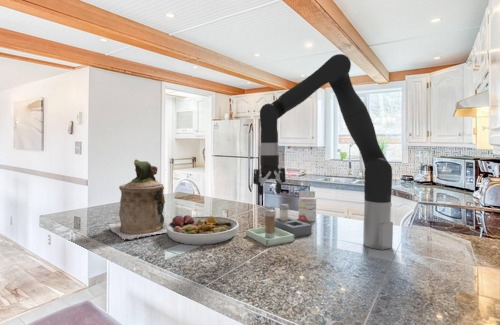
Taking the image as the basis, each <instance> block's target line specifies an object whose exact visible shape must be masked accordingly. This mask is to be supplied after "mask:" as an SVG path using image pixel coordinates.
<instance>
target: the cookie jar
mask: <svg viewBox="0 0 500 325" xmlns="http://www.w3.org/2000/svg"><path fill="white" fill-rule="evenodd" d="M133 164H134V166H135V168H134V171H135V174H136V177H134V178H132V180H131V181H129V182H127V183H125V184H121V185H119V187H118V188H119V190H120V194H121V196H120V200H119V202H120V203H119V205H120V206H119V210H118V211H119V212H118V216H119V222H118V223H110V224H107V227H108V230H109V229H110V231H111V232H112V233H114V234H115V235H117V236H118V235H119V236H118V237H120V238H121V239H122V240H123V239H124V240H125V241H126V240H135V239H134V238H137V239H139V237H140V238H146V237H145V236H149V237H152V236H151V235H154V236H157V235H156V234H160V235H163V234H162V233H165V232H157V231H159V230H163V231H166V232H167V225H168V224H169V223H170V222H168V221H165V217H164V214H163V213H164V208H165V203H166V201H165V196H164V195H165V194H164V189H165V187H164V184H163V183H160V181H158V180H157V179H156V177H155V175H157V174H158V167H157V166H155V165H152V164H151V163H150V162H148V161H140V160H138V159H135V160H134V162H133ZM165 234H166V233H165ZM124 240H123V241H124Z"/></svg>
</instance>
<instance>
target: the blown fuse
mask: <svg viewBox="0 0 500 325" xmlns="http://www.w3.org/2000/svg"><path fill="white" fill-rule="evenodd" d="M275 213H276V212H275V209H265V210H264V227H265V238H275V218H276V217H275V215H276V214H275Z"/></svg>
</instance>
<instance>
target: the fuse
mask: <svg viewBox="0 0 500 325" xmlns="http://www.w3.org/2000/svg"><path fill="white" fill-rule="evenodd" d="M289 208H290V207H289V204H287V203H280V204H279V217H280V221H282V222H285V221H288V217H289V213H290V212H289V211H290V210H289Z"/></svg>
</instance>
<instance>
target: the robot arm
mask: <svg viewBox="0 0 500 325" xmlns="http://www.w3.org/2000/svg"><path fill="white" fill-rule="evenodd" d="M351 63H352V62H351V59H350V57H348V56H347V55H346V54H344V53H343V54H342V53H338V54H334V55H333V56H331V57H330V58H329V59H328V60H326V62H325V63H323V64H322V65H321V66H320V67H318V68H317V69H316V70H315V71H314V72H312V73H311V74H310V75H309V76H308V77H306V78H304V79H303V80H302V81H300V82H299V83H297V84H296V85H294V86H293V87H291V88H289V89H288V90H287V91H285V92H284V93H282V94H281V95H279V97H278V98H277V99H276V100H274V101H273V102H271V103H264V104H263V105H262V106H261V108H260V110H259V123H260V148H259V151H260V152H259V157H260V160H259V161H260V162H259V163H260V164H259V165H260V169H258V168H254V169H253V181H252V182H253V185H255V186H256V185H257V194H258V195H259V196H263V195H264V184H265V183H266V181H267V180H274V182H275V183H276V184H275V193H276V194H281V192H282V184H283V183H286V168H285V167H279V166H280V154H279V152H280V148H279V147H280V146H279V132H278V131H279V130H278V119H280V118H281V117H283V115H285V114H286V113H287V112H289V111H291V110H293V109H294V108H296V107H298V106H299V105H301V104H302V103H303V102H304V101H306V100H307V99H308V98H310V97H311V96H312V95H313V94H314V93H315V92H317V91H318V90H319V89H321V88H322V87H324V86H325V85H326V84H328V83H329V86H330V87H331V89H332V91H333V93H334V95H335V97H336V100H337V104H338V106H339V110H340V113H341V116H342V117H343V118H342V119H343V121H344V123H345V126H346V129H347V131H348V132H349V133H348V134H349V135H350V136H351V138H352V140H353V142H354V143H355V145H356V146H357V148H358V150H359V153H360V155H361V158H362V162H363V166H364V182H363V183H364V186H363V187H364V192H363V193H364V194H363V195H364V196H363V197H364V199H363V200H364V202H363V203H364V204H363V205H364V207H363V208H364V210H363V245H364V246H365V247H367V248H371V249H376V250H381V251H383V250H388V249H391V248H393V237H394V236H393V234H394V232H393V231H394V224H393V221H391V218H392V217H391V214H392V213H391V212H392V211H391V209H392V208H391V206H392V193H393V191H392V190H393V189H392V188H393V187H392V185H393V168H392V166H391V164H390V162H389V161H388V160H387V158H386V157H385V154H384V153H383V151H382V148H381V147H380V145H379V142H378V138H377V134H376V129H375V126H374V123H373V120H372V117H371V115H370V113H369V110H368V108H367V106H366V104H365V103H364V101H363V100H362V98H360V96H359V95H358V93H357V92H356V91H355V89H354V87H353V83H352V81H351V77H350V71H351V67H352V64H351Z"/></svg>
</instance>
